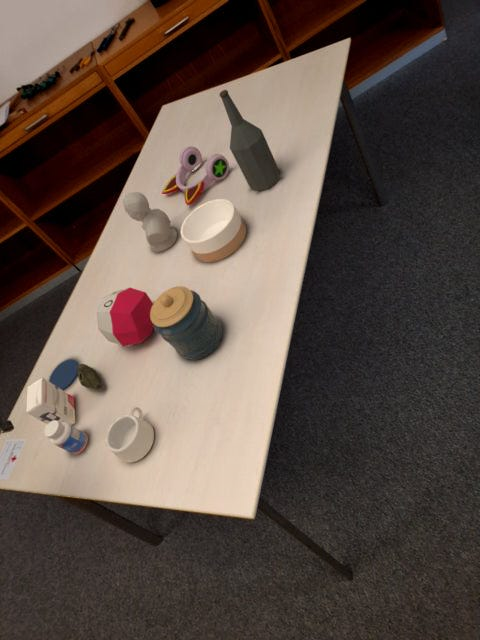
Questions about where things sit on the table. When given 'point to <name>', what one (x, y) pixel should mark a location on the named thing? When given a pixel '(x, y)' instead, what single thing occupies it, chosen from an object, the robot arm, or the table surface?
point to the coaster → (64, 374)
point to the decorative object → (125, 317)
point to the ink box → (49, 403)
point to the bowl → (213, 230)
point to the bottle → (250, 149)
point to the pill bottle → (66, 436)
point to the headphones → (189, 160)
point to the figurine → (150, 221)
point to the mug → (130, 437)
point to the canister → (186, 323)
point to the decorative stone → (89, 377)
